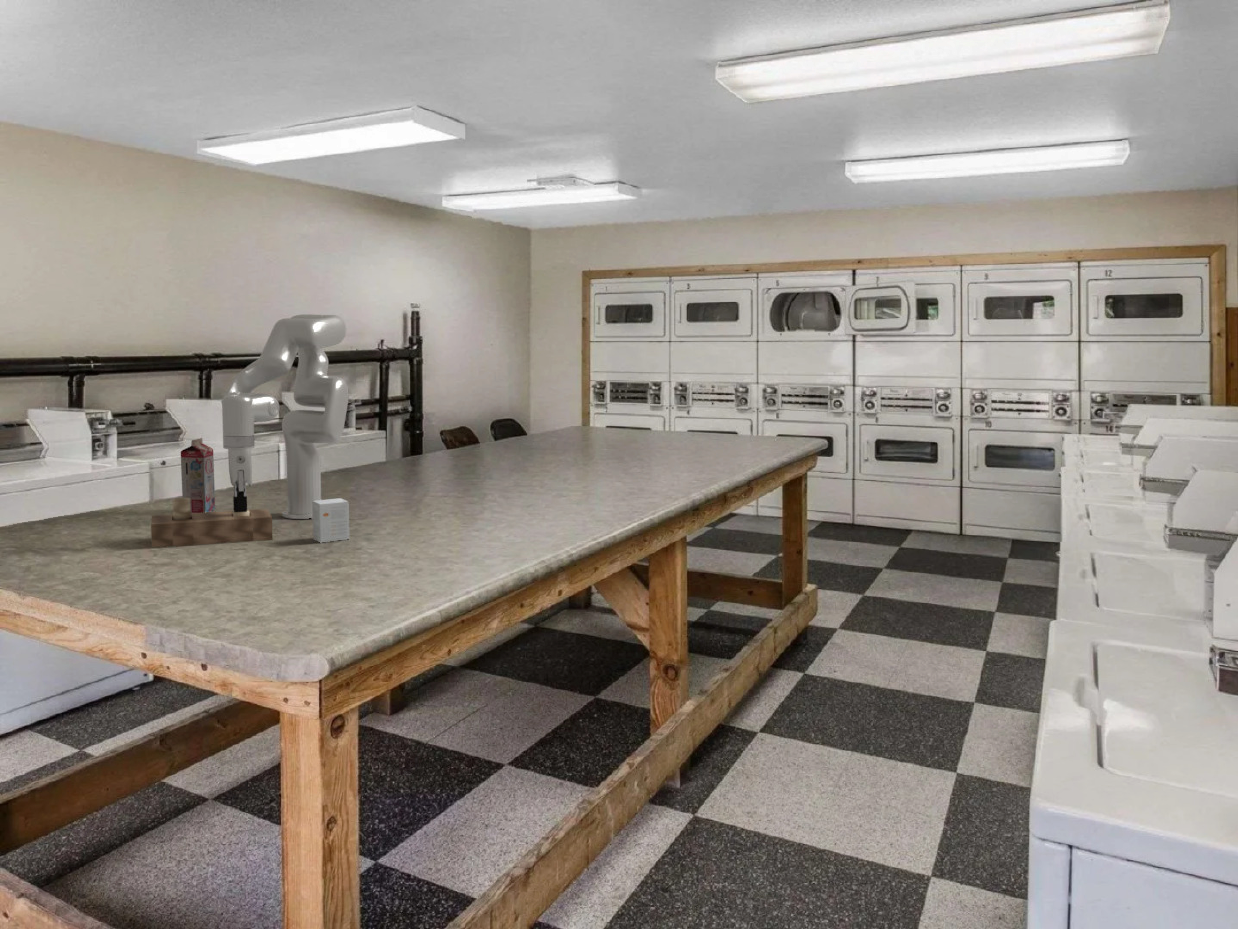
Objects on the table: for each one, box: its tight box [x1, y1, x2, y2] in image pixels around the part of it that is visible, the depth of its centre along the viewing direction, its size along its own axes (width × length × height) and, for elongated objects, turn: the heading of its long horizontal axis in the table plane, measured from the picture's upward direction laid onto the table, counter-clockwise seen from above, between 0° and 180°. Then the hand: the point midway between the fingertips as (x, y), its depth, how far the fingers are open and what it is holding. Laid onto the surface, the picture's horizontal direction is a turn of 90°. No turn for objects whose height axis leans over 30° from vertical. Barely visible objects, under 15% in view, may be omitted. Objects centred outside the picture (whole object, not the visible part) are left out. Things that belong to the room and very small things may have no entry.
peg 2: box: [232, 509, 250, 517], centre depth 230 cm, size 4×4×6 cm
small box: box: [311, 497, 350, 544], centre depth 230 cm, size 8×6×10 cm
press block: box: [150, 508, 274, 549], centre depth 227 cm, size 28×12×6 cm, turn 117°
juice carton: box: [180, 437, 216, 513], centre depth 260 cm, size 7×7×22 cm
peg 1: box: [172, 497, 191, 520], centre depth 223 cm, size 4×4×6 cm
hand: (240, 511), depth 229 cm, fingers closed
